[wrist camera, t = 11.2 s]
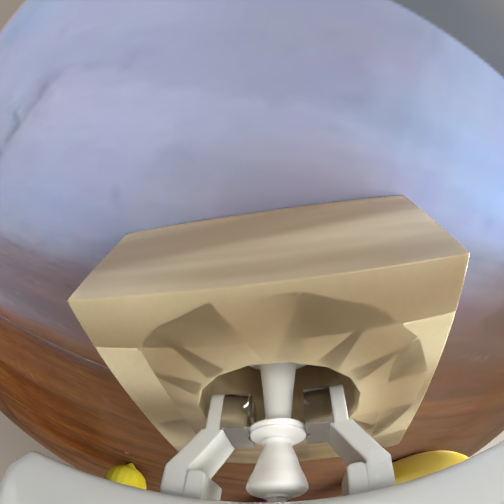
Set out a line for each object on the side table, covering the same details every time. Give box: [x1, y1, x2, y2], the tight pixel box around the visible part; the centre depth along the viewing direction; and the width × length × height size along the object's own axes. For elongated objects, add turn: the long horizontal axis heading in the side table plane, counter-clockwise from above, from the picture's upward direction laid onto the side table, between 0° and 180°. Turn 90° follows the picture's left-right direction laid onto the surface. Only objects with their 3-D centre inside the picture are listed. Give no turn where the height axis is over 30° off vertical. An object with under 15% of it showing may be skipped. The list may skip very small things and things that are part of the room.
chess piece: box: [246, 362, 309, 502], centre depth 10 cm, size 5×5×10 cm
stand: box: [67, 195, 470, 463], centre depth 12 cm, size 12×12×5 cm
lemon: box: [105, 463, 146, 490], centre depth 24 cm, size 7×6×10 cm
